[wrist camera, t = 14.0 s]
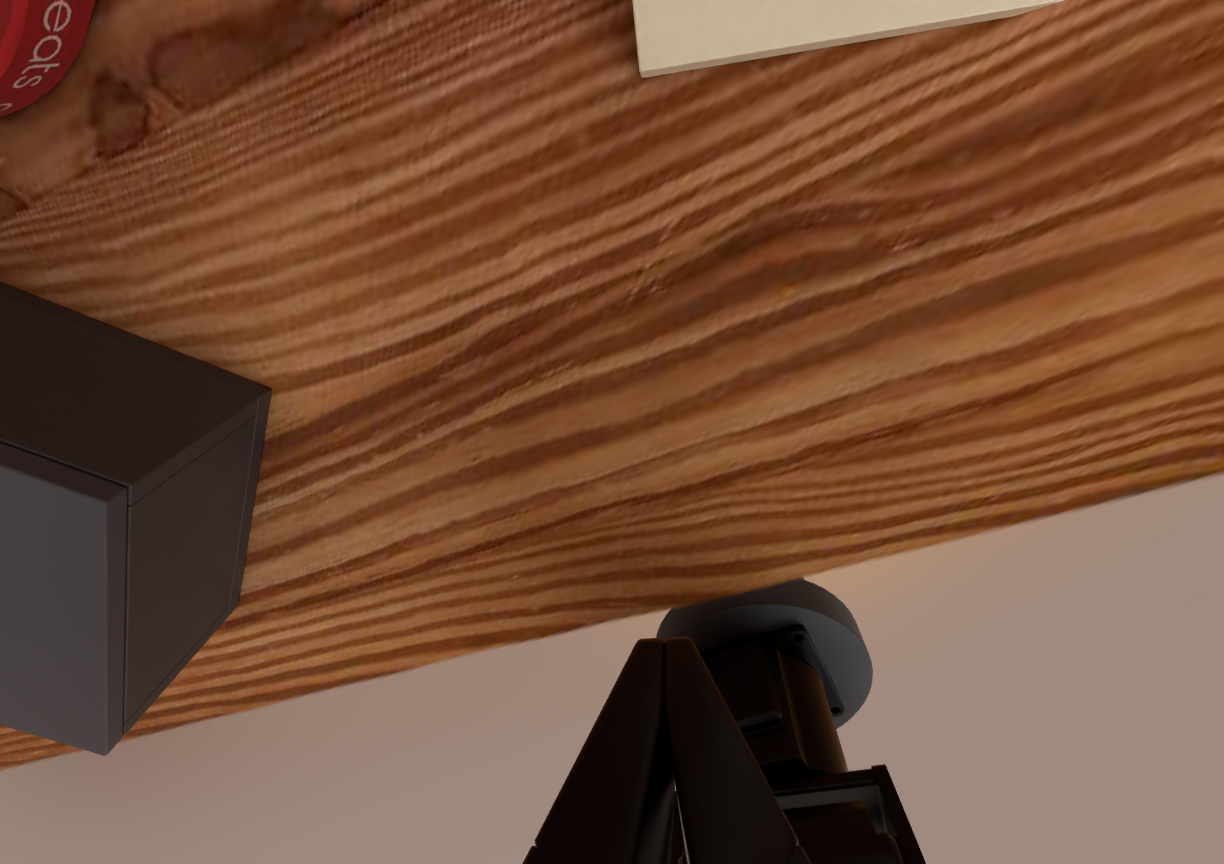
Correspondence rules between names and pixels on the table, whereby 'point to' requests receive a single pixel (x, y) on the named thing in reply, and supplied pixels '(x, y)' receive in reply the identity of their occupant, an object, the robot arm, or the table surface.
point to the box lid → (61, 602)
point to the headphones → (38, 47)
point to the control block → (789, 26)
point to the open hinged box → (143, 468)
